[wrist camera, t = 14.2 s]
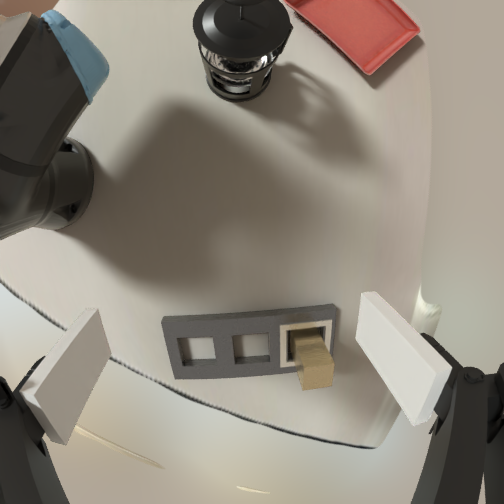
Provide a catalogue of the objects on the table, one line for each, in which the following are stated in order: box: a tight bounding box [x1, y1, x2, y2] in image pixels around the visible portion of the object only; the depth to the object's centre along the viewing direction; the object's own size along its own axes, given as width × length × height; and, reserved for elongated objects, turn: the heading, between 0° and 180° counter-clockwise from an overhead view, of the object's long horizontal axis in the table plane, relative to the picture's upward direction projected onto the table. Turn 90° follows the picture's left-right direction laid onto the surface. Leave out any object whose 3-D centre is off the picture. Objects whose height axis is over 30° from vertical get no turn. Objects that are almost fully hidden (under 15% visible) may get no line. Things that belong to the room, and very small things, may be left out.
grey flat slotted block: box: [161, 304, 336, 379], centre depth 47 cm, size 28×12×2 cm, turn 93°
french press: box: [193, 0, 293, 102], centre depth 25 cm, size 12×9×23 cm
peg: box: [290, 328, 335, 390], centre depth 43 cm, size 4×4×11 cm
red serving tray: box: [283, 0, 420, 75], centre depth 32 cm, size 18×18×3 cm
